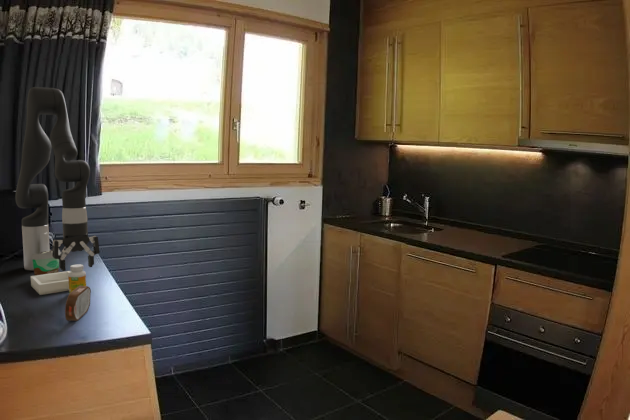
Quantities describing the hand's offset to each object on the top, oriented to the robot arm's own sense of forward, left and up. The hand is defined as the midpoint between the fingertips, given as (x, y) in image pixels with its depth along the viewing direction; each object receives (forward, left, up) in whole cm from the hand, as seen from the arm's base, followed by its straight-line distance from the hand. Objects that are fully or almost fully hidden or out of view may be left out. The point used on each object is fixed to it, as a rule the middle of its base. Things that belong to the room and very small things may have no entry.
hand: (77, 268), depth 180 cm
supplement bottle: (0, 0, -9) cm, 9 cm away
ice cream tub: (-27, -2, -9) cm, 29 cm away
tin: (+23, -6, -9) cm, 25 cm away
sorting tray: (-12, -4, -9) cm, 16 cm away
